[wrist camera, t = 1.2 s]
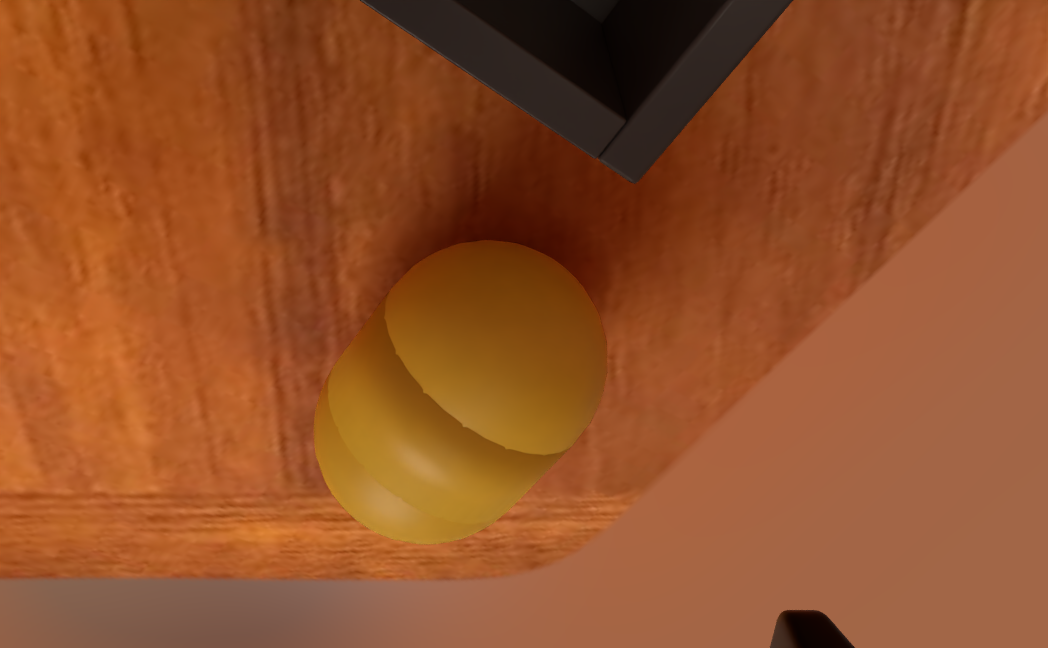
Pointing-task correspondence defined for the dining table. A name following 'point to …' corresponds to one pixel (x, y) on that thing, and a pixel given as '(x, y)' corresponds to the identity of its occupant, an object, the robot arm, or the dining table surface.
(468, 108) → the dining table surface
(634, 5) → the box
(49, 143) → the dining table surface
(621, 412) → the dining table surface
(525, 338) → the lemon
